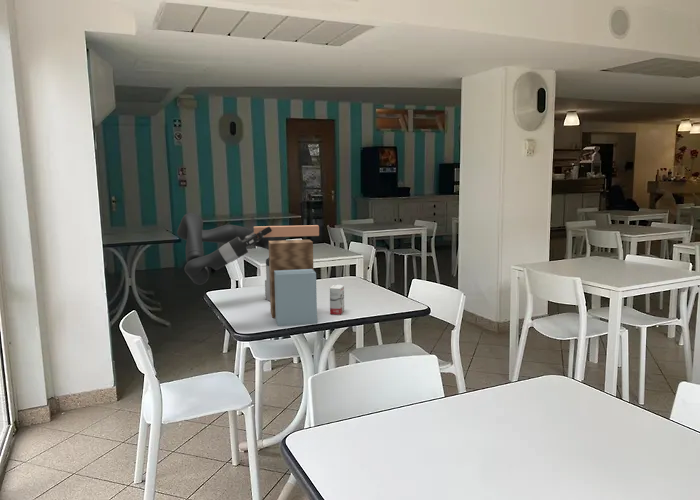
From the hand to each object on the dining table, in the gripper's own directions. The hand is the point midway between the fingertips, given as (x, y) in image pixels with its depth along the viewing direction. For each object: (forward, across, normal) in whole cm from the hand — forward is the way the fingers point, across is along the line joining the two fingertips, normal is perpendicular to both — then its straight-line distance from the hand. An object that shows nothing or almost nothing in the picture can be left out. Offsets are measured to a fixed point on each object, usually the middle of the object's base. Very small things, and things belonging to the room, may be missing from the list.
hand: (270, 228), depth 221 cm
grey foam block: (-11, 0, +39) cm, 40 cm away
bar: (+4, 0, +6) cm, 7 cm away
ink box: (+6, +11, +49) cm, 50 cm away
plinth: (-11, +13, +39) cm, 42 cm away
